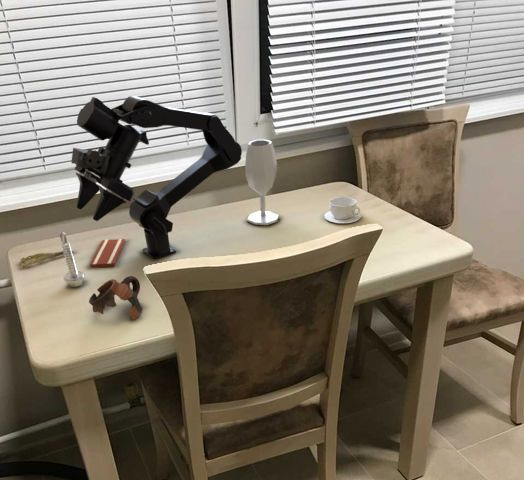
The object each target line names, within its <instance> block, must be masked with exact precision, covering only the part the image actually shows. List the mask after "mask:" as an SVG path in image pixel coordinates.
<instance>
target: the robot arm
mask: <svg viewBox="0 0 524 480" xmlns="http://www.w3.org/2000/svg"><path fill="white" fill-rule="evenodd" d="M221 120H222V119H220V117H219V116H218V115H216V114H214V113H209V112H207V111H205V112H199V111H194V110H193V111H192V110H187V109H182V108H181V109H180V108H174V107H169V106H164V105H162V104H159V103H156V102H153V101H151V100H148V99H145V98H142V97H139V96H136V95H130V96H128V97H127V98H126V99H125V100H124V101H123V103H122V104H119V105H117V106H115V107H112V108H110V107H109V106H108V105H106V104H105V103H104V102H102V100H100V99H99V98H98V97H95V96H92V97H91V99H90V101H88V102H87V103H86V104H85V105H84V106H83V107H82V108H81V109H80V110H79V112H78V114H77V117H76V124H77V126H78V127H79V128H81V129H83V130H84V131H86V132H87V133H89V134H91V135H92V136H93V137H95V138H97V139H98V140H100V141H105V140H108V141H107V143H106V145H105V147H103V146H101V147H99V148H98V149H97V150H96V149H95V150H93V149H90V148H88V149H82V148H78V147H73V148H72V154H71V162H70V164H74V165H75V167H74V170H75V175H76V176H77V179H78V182H79V189H78V195H77V202H76V208H77V209H78V210H80V211H81V210H83V208H84V207H86V205H87V204H89V202H91V200H92V199H94V197H95V196H96V195H97V194H98V192H99V193H100V194H99V195H100V197H99V200H98V203H97V204H96V207H95V210H94V213H93V215H92V220H93V221H96V222H99V221H100V220H102V219H103V218H104V217H105V216H106V215H108V214H109V213H111V212H113V211H114V210H115V209H117V208H118V207H120V206H121V205H123V204H126V203H127V201H128V202H130V203H131V204H130V205H129V209H128V210H129V211H128V213H129V217H130V219H131V220H132V221H133V222H134V223H136V224H138V226H139V227H141V228H143V233H144V239H145V245H146V247H145V248H142V250H141V251H142V252H143V253H145V255H147V256H148V257H150V258H152V259H154V260H155V259H159V258H162V257H165V256H167V255H170V254H173V253H177V249H176V248H175V247H173V246H171V245H170V244H171V243H170V239H169V238H170V237H169V233H171V232H173V226H174V222H172V221H170V220H169V219H168V216H169V214H170V211H171V208H173V206H175V205H176V204H177V203H179V202H180V201H181V200H182V199H184V197H186V196H187V195H188V194H190V193H191V192H192V191H193V190H195V189H196V188H197V187H198V186H200V185H201V184H202V183H203V182H205V181H206V180H207V179H208V178H210V176H212V175H213V174H216V173H218V172H222V171H227V170H229V169H230V168H232V167H234V166H236V165H238V164H239V163H240V161H241V160H242V154H243V149H242V146H241V145H240V143H239V142H237V141H236V139H235V138H234V136H233V135H232V134H231V132H229V130H228V129H227V128H226V126H225V125H224V124H223V122H222V121H221ZM119 121H121V122H122V123H125V124H126V125H123V124H121V123H120V122H119ZM133 125H134V126H136V127H139V128H142V129H140V130H138V129H136V128H135V127H133ZM166 126H170V127H177V128H183V129H191V130H197V131H202V134H203V135H202V136H203V138H204V141H205V142H206V144H207V146H206V147H205V148H204V150H203V152H202V155H201V157H200V158H199V159H198V160H196V161H194V162H193V163H192V164H191V165H190V166H189V167H187V168H186V169H185V170H184V171H182V172H181V173H180V174H178V175H177V176H176V177H174V178H173V179H172V180H171V181H169V182H168V183H167V184H166V185H164V186H163V187H162V188H160V189H159V190H158V191H155V192H152V191H150V190H149V189H145V190H143V191H142V192H141V193H140V194H139V195H138V196H136V197H134V195H135V192H134V188H132V187H131V186H129V185H128V184H126V183H125V182H123V181H124V180H122V179H121V178H122V176H123V174H124V172H125V171H126V168H128V169H131V166H132V164H131V162H130V161H131V158H132V157H133V154H134V152H135V150H136V149H137V148H138V145H139V143H142V144H144V145H146V146H148V145H149V144H150V141H149V138H148V135H147V131H145V130H143V129H154V128H160V127H166ZM76 171H77V172H76ZM132 199H133V201H132ZM131 201H132V202H131Z"/></svg>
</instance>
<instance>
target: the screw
mask: <svg viewBox="0 0 524 480" xmlns="http://www.w3.org/2000/svg"><path fill="white" fill-rule="evenodd" d="M59 238H60V243H61V249H62V251H64V252H63V253H64V254H63V257H64V259H65V260H64V261H65V263H66V267H67V270H68V272H67V273H66V274H64V276H63V281H64V282H65V283H68V284H69V285H70V287H73V288H78V287H79V286H82V284H83V280H84V279H85V278H86V273H85V272H84V271H81V270H77V265H76V263H75V262H76V261H75V258H74V253H72V251H73V250H72V248H71V244H70V242H69V241H68V237H67V233H66V232H63V231H62V232H60V233H59ZM71 250H72V251H71Z"/></svg>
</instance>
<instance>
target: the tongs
mask: <svg viewBox="0 0 524 480" xmlns="http://www.w3.org/2000/svg"><path fill="white" fill-rule="evenodd" d="M71 251H72V254H74V251H73V250H72V249H71ZM63 252H64V251H63V250H61V251H57V252H39V253H35V254H31V255H28V256H26V257H22V258H20V259H19V260H20V261H19V264H20V266H21V267H22V268H26V267H28V266H31V265H35V264H39V263H43V262H44V261H46V260H49V259H53V258H57V257H59V256H62V255H63V256H64V253H63ZM25 262H27V263H25Z"/></svg>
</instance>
